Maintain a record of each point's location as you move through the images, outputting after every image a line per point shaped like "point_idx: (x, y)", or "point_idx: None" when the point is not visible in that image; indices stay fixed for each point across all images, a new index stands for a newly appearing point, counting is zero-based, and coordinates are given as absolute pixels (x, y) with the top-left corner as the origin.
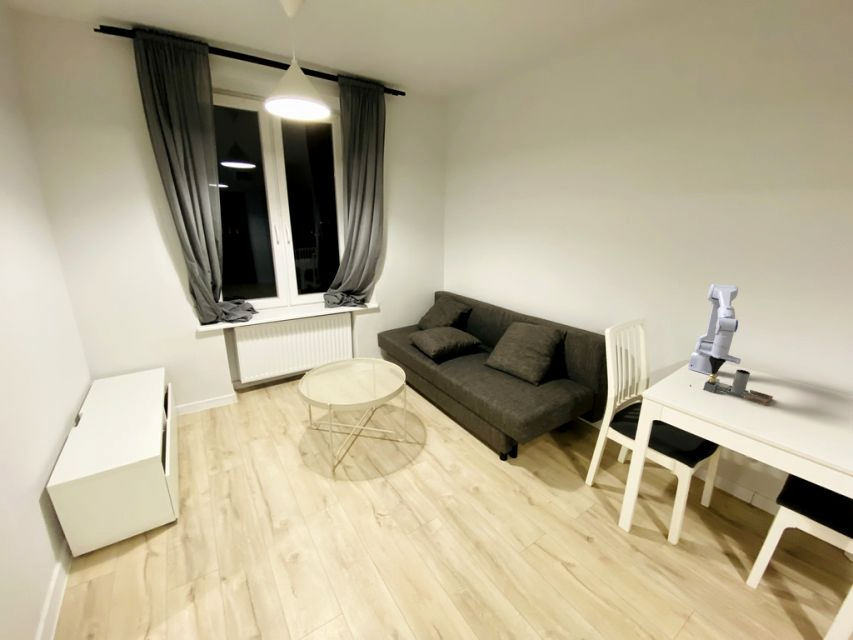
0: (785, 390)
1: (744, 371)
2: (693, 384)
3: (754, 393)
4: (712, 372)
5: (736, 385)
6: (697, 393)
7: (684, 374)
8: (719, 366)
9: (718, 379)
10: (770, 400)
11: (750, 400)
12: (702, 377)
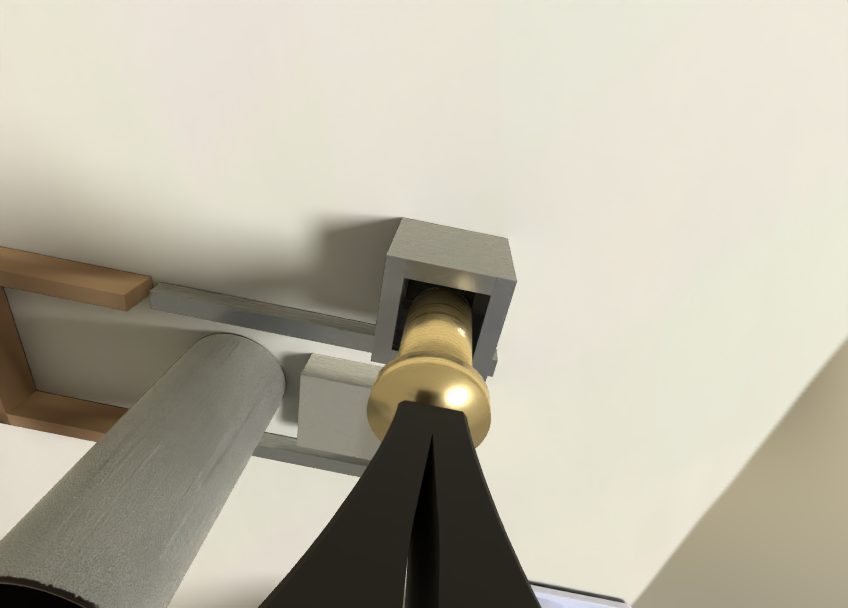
0: None
1: None
2: (605, 322)
3: None
4: (455, 426)
5: (196, 400)
6: (574, 51)
7: (670, 500)
8: (271, 606)
9: None
10: None
11: (99, 267)
12: (519, 515)
